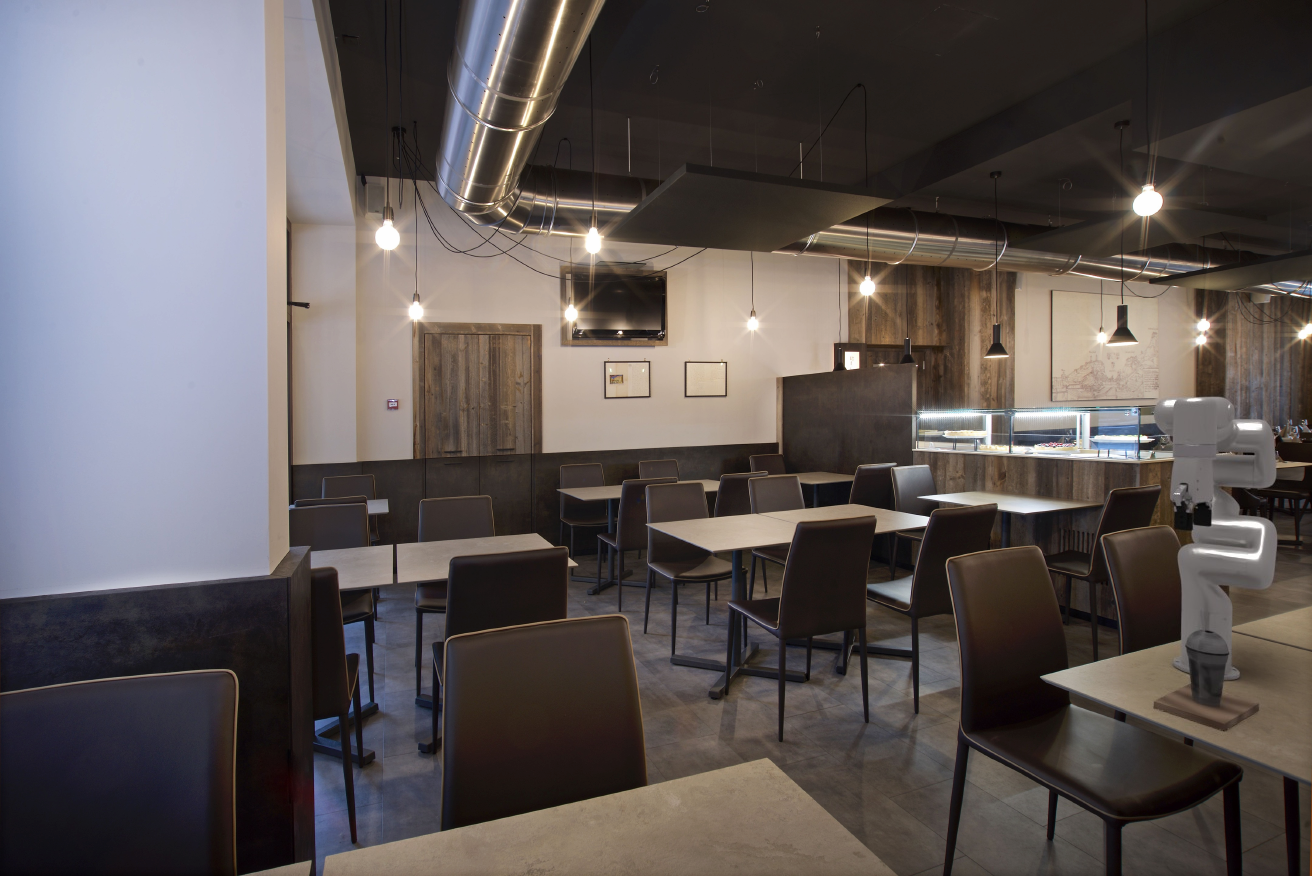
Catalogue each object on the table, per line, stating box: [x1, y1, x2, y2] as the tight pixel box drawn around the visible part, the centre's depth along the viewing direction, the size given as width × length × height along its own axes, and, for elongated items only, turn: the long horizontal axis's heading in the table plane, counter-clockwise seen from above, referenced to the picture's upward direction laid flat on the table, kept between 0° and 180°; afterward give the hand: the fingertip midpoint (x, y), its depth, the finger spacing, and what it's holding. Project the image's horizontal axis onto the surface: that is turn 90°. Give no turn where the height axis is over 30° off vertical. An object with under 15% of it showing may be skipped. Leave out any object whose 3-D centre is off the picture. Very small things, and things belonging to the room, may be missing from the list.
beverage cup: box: [1185, 610, 1229, 707], centre depth 137 cm, size 7×7×20 cm
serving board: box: [1153, 683, 1260, 732], centre depth 137 cm, size 18×12×2 cm, turn 120°
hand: (1193, 527), depth 143 cm, fingers open, 9 cm apart
